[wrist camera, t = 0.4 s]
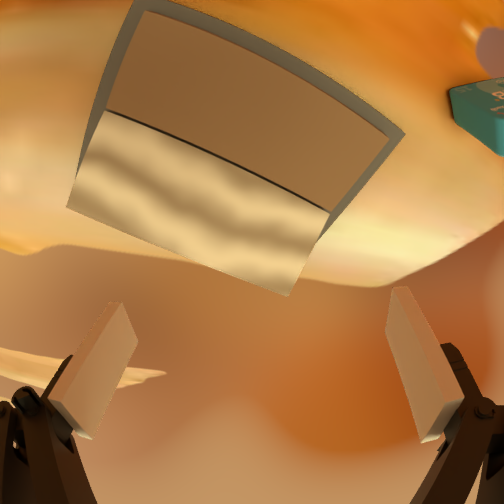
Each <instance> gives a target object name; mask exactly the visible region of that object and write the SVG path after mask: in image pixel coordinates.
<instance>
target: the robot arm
mask: <svg viewBox="0 0 504 504" xmlns="http://www.w3.org/2000/svg"><path fill="white" fill-rule="evenodd" d="M385 334H386V337H387V340H388V342H389V345H390V348H391V350H392V353H393V356H394V359H395V362H396V365H397V367H398V370H399V373H400V376H401V379H402V382H403V385H404V388H405V391H406V394H407V398H408V401H409V404H410V407H411V410H412V414H413V417H414V420H415V424H416V427H417V430H418V434H419V438H420V441H421V443H423V442H427V441H431V440H435V439H438V438H439V437H440V435H441V434H442V432H443V431H444V434H445V437H446V439H445V441H444V442H443V444H442V445H441V446H440V447H439V449H438V450H437V451H439V453H438V455H437V457H436V459H435V460H434V462H433V464H432V466H431V468H430V470H429V472H428V474H427V475H426V477H425V479H424V481H423V482H422V484H421V486H420V488H419V489H418V491H417V493H416V494H415V496H414V497H413V499H412V501H411V502H410V504H464V503H465V501H466V499H467V497H468V495H469V493H470V491H471V488H472V486H473V484H474V482H475V479H476V477H477V475H478V472H479V470H480V467H481V465H482V462H483V466H482V473H481V479H480V484H479V489H478V495H477V499H476V504H504V405H496V404H495V403H494V402H493V401H492V400H490V399H489V398H486V397H483V396H482V394H481V392H480V390H479V389H478V386H477V384H476V382H475V380H474V378H473V376H472V374H471V372H470V370H469V369H468V367H467V364H466V362H465V361H464V359H463V357H462V355H461V353H460V351H459V350H458V349H457V348H456V347H455V346H454V345H452V344H451V343H445V344H439V343H438V341H437V339H436V337H435V335H434V333H433V331H432V329H431V327H430V325H429V324H428V322H427V320H426V318H425V316H424V314H423V313H422V311H421V309H420V307H419V306H418V304H417V302H416V301H415V299H414V297H413V295H412V293H411V292H410V290H409V288H408V287H407V286H402V287H392V294H391V300H390V306H389V312H388V317H387V324H386V328H385ZM137 344H138V340H137V338H136V335H135V333H134V330H133V328H132V326H131V323H130V321H129V318H128V316H127V313H126V311H125V308H124V306H123V303H122V302H109V304H108V305H107V306H106V308H105V309H104V311H103V312H102V314H101V315H100V316H99V318H98V319H97V321H96V322H95V324H94V325H93V327H92V328H91V330H90V331H89V333H88V334H87V336H86V337H85V339H84V340H83V342H82V343H81V345H80V346H79V348H78V349H77V351H76V352H75V354H74V355H70V356H69V357H67V358H66V359H65V360H64V361H63V362H62V364H61V365H60V367H59V368H58V371H57V372H56V373H55V375H54V377H53V378H52V380H51V381H50V383H49V384H48V386H47V388H46V389H45V391H44V393H43V394H42V396H41V398H40V397H39V396H38V395H37V393H36V392H35V391H34V389H33V388H31V387H29V386H25V387H22V388H20V389H18V390H17V391H16V392H15V393H14V395H13V397H12V400H11V402H12V404H13V405H14V406H15V407H16V408H13V407H12V405H11V404H10V403H9V402H7V401H1V402H0V504H97V501H96V499H95V497H94V494H93V492H92V490H91V487H90V484H89V482H88V479H87V476H86V473H85V471H84V468H83V465H82V462H81V459H80V456H79V453H78V450H77V447H76V443H75V440H74V438H73V436H72V435H71V433H72V431H73V429H74V430H75V432H76V433H77V434H78V435H79V436H81V437H84V438H88V439H92V440H93V439H94V436H95V434H96V432H97V429H98V427H99V425H100V423H101V420H102V418H103V416H104V413H105V411H106V409H107V407H108V404H109V402H110V400H111V398H112V396H113V394H114V392H115V389H116V387H117V385H118V383H119V381H120V379H121V377H122V374H123V372H124V370H125V368H126V366H127V364H128V362H129V360H130V358H131V356H132V354H133V351H134V350H135V348H136V346H137ZM13 441H14V442H15V443H16V448H14V447H13Z"/></svg>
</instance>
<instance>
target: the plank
mask: <svg viewBox="0 0 504 504" xmlns="http://www.w3.org/2000/svg"><path fill="white" fill-rule="evenodd" d="M66 208H69V209H71V210H73V211H75V212H78V213H80V214H82V215H85V216H87V217H89V218H92V219H94V220H96V221H99V222H101V223H103V224H106V225H108V226H110V227H113V228H115V229H117V230H120V231H122V232H125V233H127V234H129V235H132V236H134V237H137V238H139V239H141V240H144V241H146V242H149V243H151V244H154V245H156V246H158V247H161V248H163V249H166V250H168V251H171V252H173V253H176V254H178V255H181V256H183V257H186V258H188V259H191V260H193V261H196V262H198V263H201V264H203V265H206V266H208V267H211V268H213V269H216V270H218V271H221V272H224V273H226V274H229V275H231V276H234V277H236V278H239V279H242V280H245V281H247V282H250V283H252V284H255V285H257V286H260V287H263V288H265V289H268V290H271V291H273V292H276V293H279V294H281V295H284V296H287V297H288V295H289V294H290V292H291V290H292V288H293V286H294V284H295V282H296V280H297V278H298V277H299V275H300V273H301V271H302V269H303V267H304V265H305V263H306V261H307V259H308V257H309V255H310V253H311V251H312V249H313V247H314V245H315V243H316V241H317V239H318V237H319V235H320V233H321V231H322V229H323V227H324V225H325V223H326V221H327V219H328V217H329V215H330V214H329V213H327V212H325V211H323V210H321V209H320V208H318V207H316V206H314V205H312V204H310V203H308V202H306V201H305V200H303V199H301V198H299V197H297V196H295V195H293V194H291V193H289V192H287V191H285V190H283V189H281V188H279V187H277V186H275V185H273V184H271V183H269V182H267V181H265V180H263V179H261V178H259V177H257V176H255V175H253V174H251V173H249V172H247V171H245V170H243V169H241V168H239V167H236V166H234V165H232V164H230V163H228V162H226V161H224V160H222V159H219V158H217V157H215V156H213V155H211V154H208V153H206V152H204V151H202V150H200V149H197V148H195V147H193V146H191V145H188V144H186V143H184V142H181V141H179V140H177V139H174V138H172V137H170V136H167V135H165V134H163V133H160V132H158V131H155V130H153V129H151V128H148V127H146V126H143V125H141V124H138V123H136V122H133V121H131V120H128V119H126V118H123V117H121V116H118V115H115V114H113V113H110V112H107V111H105V110H104V113H103V115H102V117H101V119H100V121H99V123H98V125H97V128H96V130H95V132H94V134H93V137H92V139H91V141H90V144H89V146H88V148H87V151H86V153H85V156H84V158H83V161H82V163H81V166H80V168H79V171H78V174H77V177H76V179H75V182H74V185H73V188H72V191H71V194H70V197H69V200H68V203H67V206H66Z"/></svg>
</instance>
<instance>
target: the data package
mask: <svg viewBox="0 0 504 504" xmlns="http://www.w3.org/2000/svg"><path fill="white" fill-rule="evenodd" d="M449 93H450V98H451V103H452V109H453V115H454V121H455V123H456V124H457V125H459V126H460V127H462V128H463V129H464V130H466V131H467V132H469V133H470V134H471V135H473V136H474V137H475V138H477V139H478V140H479V141H481V142H482V143H483V144H484V145H486V146H487V147H488V148H489V149H491V150H492V151H493V152H494V153H496V154H497V155H499V156H501V157H504V77H503V78H502V77H501V78H495V79H490V80H485V81H481V82H476V83H472V84H467V85H463V86H459V87H455V88H452V89H450V91H449Z"/></svg>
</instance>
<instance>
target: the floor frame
mask: <svg viewBox="0 0 504 504" xmlns="http://www.w3.org/2000/svg"><path fill="white" fill-rule="evenodd" d="M104 110H105V111H107V112H110V113H113V114H115V115H118V116H121V117H123V118H126V119H128V120H131V121H133V122H136V123H138V124H141V125H143V126H146V127H148V128H151V129H153V130H155V131H158V132H160V133H163V134H165V135H167V136H170V137H172V138H174V139H177V140H179V141H181V142H184V143H186V144H188V145H191V146H193V147H195V148H197V149H200V150H202V151H204V152H206V153H208V154H211V155H213V156H215V157H217V158H219V159H222V160H224V161H226V162H228V163H230V164H232V165H234V166H236V167H239V168H241V169H243V170H245V171H247V172H249V173H251V174H253V175H255V176H257V177H259V178H261V179H263V180H265V181H267V182H269V183H271V184H273V185H275V186H277V187H279V188H281V189H283V190H285V191H287V192H289V193H291V194H293V195H295V196H297V197H299V198H301V199H303V200H305V201H306V202H308V203H310V204H312V205H314V206H316V207H318V208H320V209H321V210H323V211H325V212H327V213H329V214H330V215H329V217H328V219H327V221H326V223H325V225H324V227H323V229H322V231H321V233H320V235H319V237H318V239H317V241H318V240H319V239H320V238H321V236H322V235H323V234H324V233H325V232H326V231H327V229H328V228H329V227H330V226H331V225H332V224H333V222H334V221H335V220H336V219H337V218H338V216H339V215H340V214H341V213H342V212H343V211H344V209H345V208H346V207H347V206H348V205H349V203H350V202H351V201H352V200H353V199H354V197H355V196H356V195H357V194H358V193H359V191H360V190H361V189H362V188H363V187H364V185H365V184H366V183H367V182H368V180H369V179H370V178H371V177H372V176H373V174H374V173H375V172H376V171H377V169H378V168H379V167H380V166H381V164H382V163H383V162H384V161H385V160H386V158H387V157H388V156H389V155H390V153H391V152H392V151H393V149H394V148H395V147H396V146H397V144H398V143H399V142H400V141H401V139H402V138H403V137H404V136H405V133H404V132H403V131H402V130H401V129H399V128H398V127H397V126H396V125H394V124H393V123H392V122H391V121H389V120H388V119H387V118H386V117H384V116H383V115H382V114H380V113H379V112H378V111H377V110H375V109H374V108H373V107H371V106H370V105H369V104H367V103H366V102H364V101H363V100H362V99H360V98H359V97H357V96H356V95H355V94H353V93H352V92H350V91H349V90H347V89H346V88H344V87H343V86H342V85H340V84H339V83H337V82H335V81H334V80H332V79H331V78H329V77H328V76H326V75H325V74H323V73H321V72H320V71H318V70H317V69H315V68H313V67H312V66H310V65H308V64H307V63H305V62H303V61H302V60H300V59H298V58H296V57H295V56H293V55H291V54H289V53H287V52H286V51H284V50H282V49H280V48H278V47H276V46H274V45H272V44H271V43H269V42H267V41H265V40H263V39H261V38H259V37H257V36H255V35H252V34H250V33H248V32H246V31H244V30H242V29H240V28H237V27H235V26H233V25H231V24H228V23H226V22H224V21H221V20H219V19H217V18H214V17H212V16H209V15H207V14H204V13H202V12H199V11H196V10H194V9H191V8H188V7H185V6H182V5H179V4H177V3H173V2H170V1H167V0H134V2H133V4H132V6H131V8H130V10H129V12H128V14H127V16H126V18H125V21H124V23H123V25H122V27H121V30H120V32H119V34H118V37H117V39H116V41H115V44H114V46H113V49H112V51H111V54H110V57H109V59H108V62H107V65H106V67H105V70H104V73H103V76H102V79H101V82H100V85H99V88H98V91H97V94H96V97H95V100H94V104H93V107H92V110H91V114H90V118H89V121H88V125H87V129H86V133H85V137H84V141H83V145H82V149H81V154H80V158H79V163H78V168H77V173H76V177H77V174H78V171H79V168H80V166H81V163H82V161H83V158H84V156H85V153H86V151H87V148H88V146H89V144H90V141H91V139H92V137H93V134H94V132H95V130H96V128H97V125H98V123H99V121H100V119H101V117H102V115H103V113H104ZM75 179H76V178H75ZM317 241H316V242H317Z"/></svg>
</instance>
